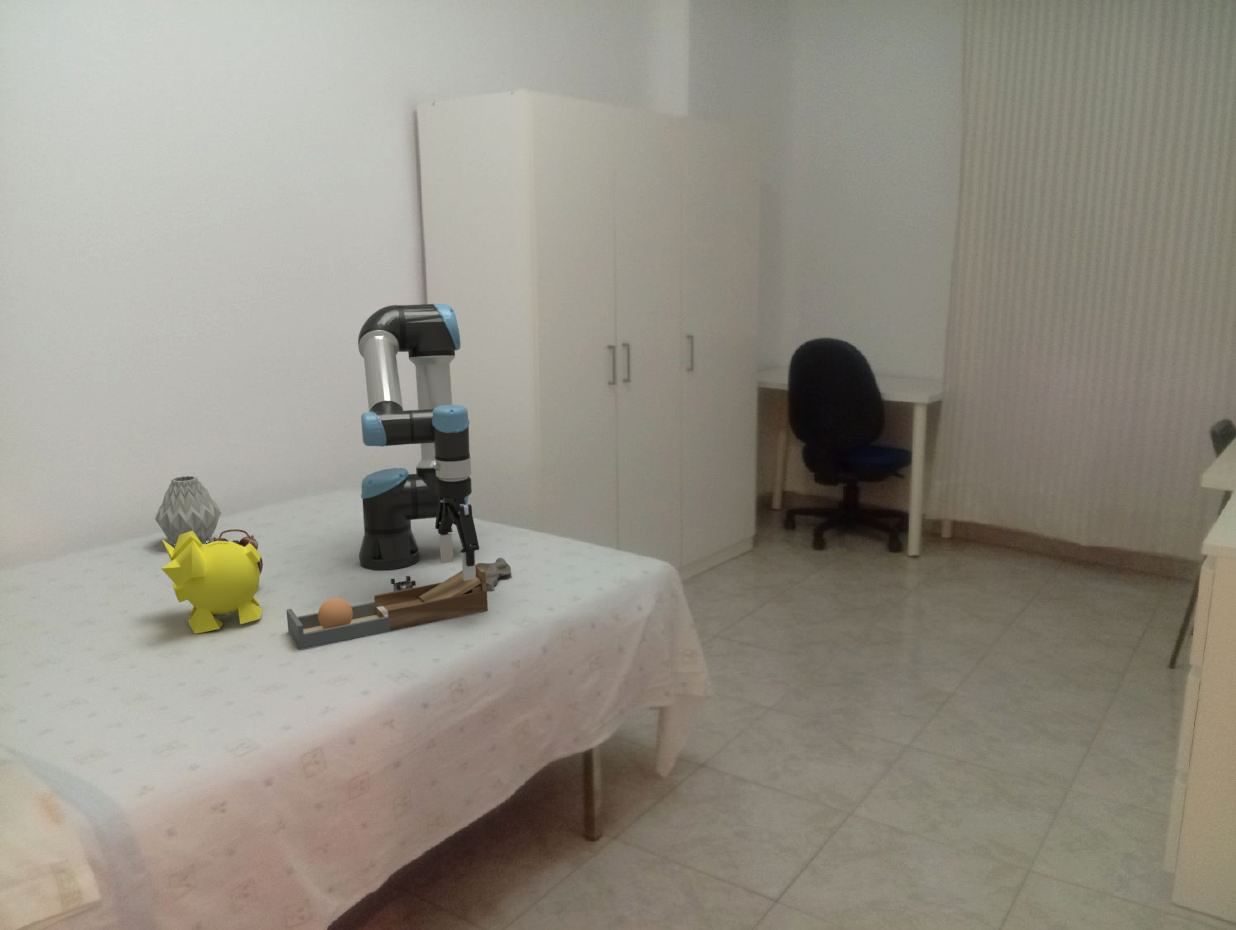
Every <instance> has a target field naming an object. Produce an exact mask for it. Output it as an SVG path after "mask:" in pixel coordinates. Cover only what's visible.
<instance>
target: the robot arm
mask: <svg viewBox="0 0 1236 930" xmlns="http://www.w3.org/2000/svg"><path fill="white" fill-rule="evenodd" d="M459 329H460V328H459V323H458V319H457V317H456V313H455V310H454V309H453V307H452V306H451V305H450V304H441V303H425V304H402V305H401V304H400V305H399V304H394V305H393V304H392V305H388V306H387V305H386V306H384V307H382V308H380V309H378V310H376V311H375V312H373V313H372V314H371V315H369V317H368V318H367V319H366V321H365V322H364V323H363V325H362V326H361V328H360V331H359V334H358V338H357V339H358V340H357V345H358V352H359V353H360V354H359V355H360V356H361V357H362V358H363V363H364V373H365V384H366V393H367V403H368V412H363V413H362V414H361V416H360V419H361V421H360V422H361V435H362V436H361V437H362V443H363V445H364V446H367V447H388V446H389V447H390V446H403V445H419V444H420V455H421V459H420V460H419V462H418V463H417V464H416V466H415V469H416V470H415V472H416V473H410V474H409V471H408V469H407V468H404V467H398V468H397V467H392V468H386V469H381V470H378V471H374V472H371V473H370V474H368V475H366V476H365V477H363V478H362V481H361V494H360V497H361V499H362V515H363V516H362V517H363V518H362V519H363V529H364V533H363V534H364V535H363V538H362V541H361V545H360V550H359V555H358V560H359V565H360V566H361V567H363V568H366V569H369V570H370V569H371V570H396V569H401V568H406V567H410V566H411V565H412V566H413V565H415V564H416V563H418V562H419V561H420V559H421V556H420V555H421V554H420V553H421V552H420V547H419V545H418V543H417V540H416V538H415V536H414V533H413V531H412V520H413V521H414V520H425V519H435V525H434V527H435V530H437V533H438V535H439V551H440V552H439V553H440V555H439V556H440V564H447V563H452V562H454V552H453V551H454V548H453V534H452V533H453V532H454V530H453V525H455V526H456V530H457V533H458V536H459V540H460V544H461V546H462V548H461V550H460V553H461V568H462V569H461V571H462V570H463V580H464V581H467V580H472V579H476V567H475V564H476V551H479V550H480V545H479V544H480V543H479V540H478V534H477V531H476V526H475V522H474V516H473V508H472V504H471V503H470V504H469V503H468V501H469V496H471V494H472V491H473V489H472V478H471V477H470V476H471V474H472V462H471V461H472V460H471V454H470V453H471V452H470V428H469V426H470V420H469V412H468V409H467V407H466V406H464V405H459V404H453V397H452V381H451V379H452V378H451V366H450V365H451V362H452V361H453V360H454V359H455V358H456V351H459V350H461V347H462V346H461V334H460V330H459ZM399 352H401V353H403V352H404V353H405V352H406V353H408V354H407V355H408V360H409V361H410V362H411V363H412V364H413V365H414V366H415V377H416V378H415V379H416V380H415V381H416V395H417V409H414V410H413V409H411V410H408V409H407V410H404V406H403V399H402V398H403V397H402V391H401V383H400V376H399V368H398V361H397V355H398V353H399Z"/></svg>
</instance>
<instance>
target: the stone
mask: <svg viewBox="0 0 1236 930" xmlns="http://www.w3.org/2000/svg"><path fill="white" fill-rule="evenodd" d="M476 565H477V566H479V567H480V568H482V569H483V570H484V571H485V572H486V591H487V592H494V591H495V586H497V584H498V581H499V578H502V577H506V576H509V575H511V574H512V568H511V565H509V564H508V563H507V561H506V560H505V558H503V557H497V559H496V561H495V562H491V563H488V562H477V563H476Z"/></svg>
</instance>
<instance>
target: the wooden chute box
mask: <svg viewBox="0 0 1236 930" xmlns="http://www.w3.org/2000/svg"><path fill="white" fill-rule="evenodd" d="M475 567H476V579H472V580H467V581H464V580H463V570H462V569H461V571H459V572H458V573H456V574H454V575H453V576H450V577H449V578H448V579H446V580H444V581H442V582H438V583H432V584H426V585H422V586H416V587H415V586H414V587H413V588H410V589H405V590H400V591H394V590H393V591H389V592H386V593H385V592H384V593H379V594H375V595H374V597H373V600H374V602H375V603H376V615H377V616H378V617H379V618H382V617H387V616H388V617H389V619H390V631H389V632H392V631H396V630H401V629H406V628H410V627H414V626H419V625H425V624H429V623H430V624H431V623H435V622H439V621H444V620H450V619H453V618H459V617H463V616H464V617H465V616H468V615H473V614H477V613H482V612H488V610H489V609H488V608H489V607H488V591H486V572H485V571H484V570H483V569H482V568H480V567H479V566H477V563H475Z"/></svg>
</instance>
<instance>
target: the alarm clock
mask: <svg viewBox="0 0 1236 930" xmlns="http://www.w3.org/2000/svg"><path fill="white" fill-rule="evenodd" d="M230 532H238V533H239V532H240V533H244V534H245V535H246V536H244V537H242V538H241V539H239V540H238V539H237V540H231V542H234V543H236V544H239V545H241V546H244V547H245V546H247V545H248V544H249V543H250V544H252V545H253V546H254V548H255V549H256V550H257V551H258V549H259V542H258V541H257V540H256V538H255V536H254V534H251V535H250V534H249V533H248V532H247V531H246V530H244V529H239V528H237V529H228V530H223V531H221V533H220V535H219V537H218V538H217V537H213V542H215V541H229V540H228V539H227V538H224V537H223V538H222V536H223V534H226V533H230ZM257 564H258V568H259V571H260V575H261V574H262V571H263V568H264V567H263V566H264V563H263V558H262V556H261V557H260V561H259V562H257Z"/></svg>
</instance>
